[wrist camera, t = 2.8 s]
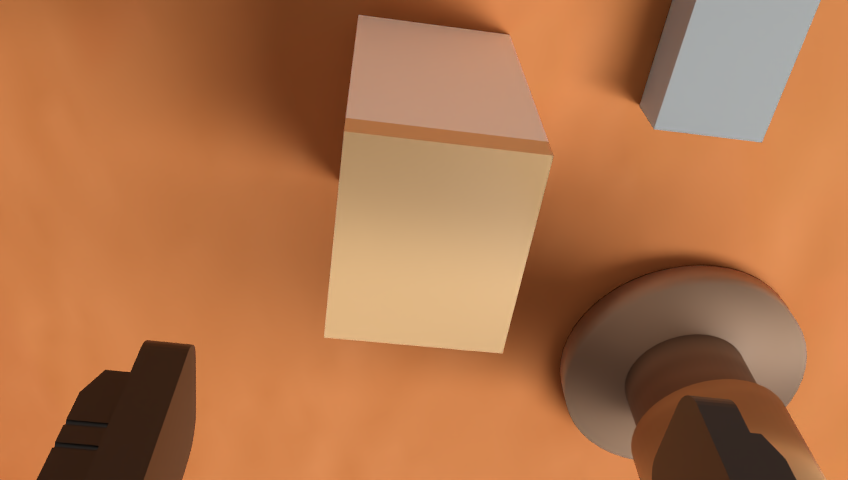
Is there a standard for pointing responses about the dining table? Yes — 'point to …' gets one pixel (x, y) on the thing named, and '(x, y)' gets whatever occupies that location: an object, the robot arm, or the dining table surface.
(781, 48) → the gray notched plate
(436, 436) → the dining table surface
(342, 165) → the tan rectangular block
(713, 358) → the doorknob
